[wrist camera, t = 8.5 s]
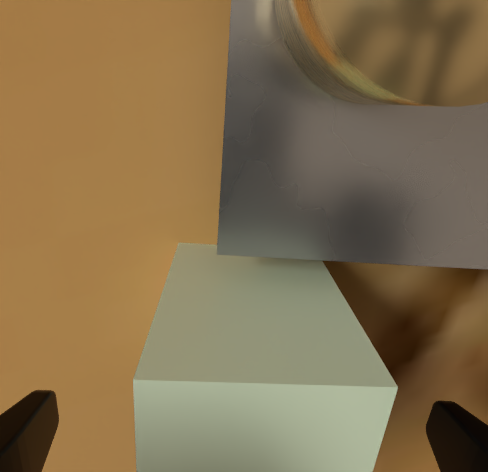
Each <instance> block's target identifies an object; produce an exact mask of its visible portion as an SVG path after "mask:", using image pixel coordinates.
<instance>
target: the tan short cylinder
mask: <svg viewBox="0 0 488 472" xmlns="http://www.w3.org/2000/svg"><path fill="white" fill-rule="evenodd" d="M275 9H276V14H277V20H278V25H279V28H280V31H281V34H282V37H283V40H284V42H285V45H286V47H287V49H288V51H289V53H290V55H291V57H292V58H293V60H294V61H295V63H296V65H297V66H298V67H299V68H300V70H301V71H302V72H303V73H304V75H305V76H306V77H307V78H308V79H309V80H311V81H312V82H313V83H314V84H315V85H316V86H318V87H319V88H320V89H322V90H323V91H325V92H326V93H328V94H330V95H332V96H334V97H336V98H339V99H342V100H345V101H348V102H352V103H359V104H373V105H407V106H443V107H461V106H469V105H477V104H482V103H486V102H488V0H275Z"/></svg>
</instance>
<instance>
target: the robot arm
mask: <svg viewBox="0 0 488 472" xmlns="http://www.w3.org/2000/svg"><path fill="white" fill-rule="evenodd" d="M58 422H59V415H58V408H57V400H56V395H55V392H54V391H51V390H36V391H33V392H31V393H30V394H29V395H27V396H26V397H24V398H23V399H22V400H20V401H19V402H18V403H16V404H15V405H13V406H12V407H11V408H9V409H8V410H7V411H5V412H4V413H2V414H1V415H0V472H42V469H43V466H44V464H45V461H46V458H47V455H48V452H49V450H50V447H51V444H52V441H53V439H54V436H55V433H56V430H57V427H58ZM426 433H427V437H428V440H429V442H430V445H431V448H432V450H433V453H434V456H435V458H436V461H437V463H438V466H439V469H440V471H441V472H488V425H486V424H485V423H484V422H482V421H481V420H479V419H478V418H477V417H475V416H474V415H472V414H471V413H469V412H468V411H467V410H465V409H464V408H462V407H461V406H459V405H458V404H457V403H455V402H452V401H436V402H435V403H434V404H433V407H432V410H431V413H430V415H429V418H428V421H427V424H426Z"/></svg>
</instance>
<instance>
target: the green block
mask: <svg viewBox="0 0 488 472" xmlns="http://www.w3.org/2000/svg"><path fill="white" fill-rule="evenodd" d="M133 390H134V416H135V442H136V468H137V472H373V469H374V466H375V462H376V459H377V456H378V452H379V449H380V446H381V442H382V439H383V436H384V432H385V429H386V426H387V423H388V419H389V416H390V413H391V409H392V406H393V403H394V399H395V396H396V393H397V390H398V386H397V385H396V383H395V381H394V380H393V378H392V376H391V375H390V373H389V371H388V370H387V368H386V366H385V365H384V363H383V361H382V360H381V358H380V356H379V355H378V353H377V351H376V350H375V348H374V346H373V345H372V343H371V341H370V340H369V338H368V336H367V335H366V333H365V331H364V330H363V328H362V326H361V325H360V323H359V321H358V320H357V318H356V316H355V315H354V313H353V311H352V310H351V308H350V306H349V305H348V303H347V301H346V300H345V298H344V296H343V295H342V293H341V291H340V290H339V288H338V286H337V285H336V283H335V281H334V280H333V278H332V276H331V275H330V273H329V271H328V270H327V268H326V266H325V265H324V263H323V261H322V260H304V259H286V258H267V257H249V256H230V255H217V245H210V244H193V243H178V246H177V249H176V252H175V255H174V258H173V261H172V264H171V267H170V270H169V273H168V276H167V279H166V282H165V285H164V288H163V292H162V295H161V298H160V301H159V304H158V307H157V310H156V313H155V316H154V319H153V322H152V325H151V328H150V331H149V334H148V337H147V340H146V343H145V346H144V349H143V352H142V355H141V358H140V361H139V364H138V367H137V370H136V373H135V376H134V379H133Z"/></svg>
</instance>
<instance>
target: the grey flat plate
mask: <svg viewBox="0 0 488 472" xmlns="http://www.w3.org/2000/svg"><path fill="white" fill-rule="evenodd" d="M217 255H230V256H249V257H267V258H286V259H304V260H323V261H341V262H360V263H378V264H397V265H415V266H434V267H452V268H471V269H488V102H486V103H482V104H477V105H469V106H461V107H443V106H407V105H373V104H359V103H352V102H348V101H345V100H342V99H339V98H336V97H334V96H332V95H330V94H328V93H326V92H325V91H323V90H322V89H320V88H319V87H318V86H316V85H315V84H314V83H313V82H312V81H311V80H309V79H308V78H307V77H306V76H305V75H304V73H303V72H302V71H301V70H300V68H299V67H298V66H297V65H296V63H295V61H294V60H293V58H292V57H291V55H290V53H289V51H288V49H287V47H286V45H285V42H284V40H283V37H282V34H281V31H280V28H279V25H278V20H277V14H276V9H275V0H231V17H230V35H229V52H228V69H227V87H226V104H225V121H224V139H223V156H222V174H221V191H220V208H219V226H218V243H217Z"/></svg>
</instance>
